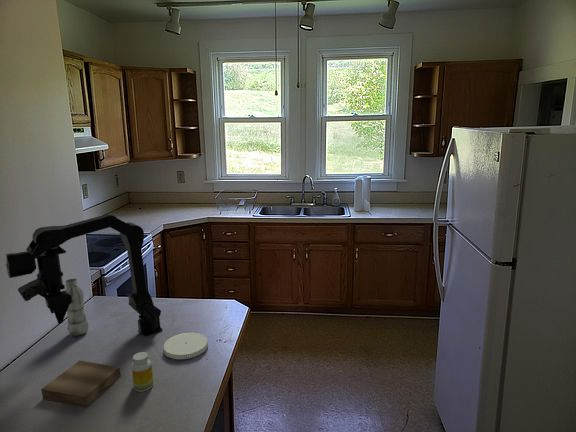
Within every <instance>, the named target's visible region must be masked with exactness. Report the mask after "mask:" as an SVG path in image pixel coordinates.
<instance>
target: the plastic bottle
mask: <svg viewBox="0 0 576 432" xmlns="http://www.w3.org/2000/svg"><path fill="white" fill-rule="evenodd" d="M64 282H65V289H64V291H67V292H69V294H70V295H71V296H72V302H71V304H70V305H69V307H68V309H67V312H66V315H67V331H68V334H69V335H71V336H73V337H74V336H76V337H77V336H82V335H84V334H86V333H87V332H88V330H89V322H88V320H87V316H86V313H85V308H84V307H85V304H84V299H85V297H84V296H85V295H84V294H85V293H84V291H83V289H82V288H80V287H79V286H78V285H79V282H78V279H77V278H69V279H67V280H65V281H64Z"/></svg>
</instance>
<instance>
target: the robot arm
mask: <svg viewBox="0 0 576 432" xmlns="http://www.w3.org/2000/svg"><path fill="white" fill-rule="evenodd" d="M108 228H111V229H113V230H114V231H116V232H118V233H119V234H120V238H121V240H122V242H123V245H124V246H125V249H126V251H127V257H128V264H129V265H128V266H129V270H130V271H129V272H130V278H131V285H132V291H131V293H128V294H127V298H128V305H129V306H130V307H131V309H133V310H134V311H135V312H136V313H138V314H139V315H138V320H137V327H138V332H140V334H142V335H143V337H147V336H151V335H154V334H157V333H159V332H162V331H163V328H162V327H161V322H160V321H161V320H160V316H161V315H162V310H161V309H160V308H158V307H157V306H156V305H154V301H153V299H152V296H151V293H150V292H149V290H148V287H147V281H146V273H145V266H144V259H143V252H142V250H143V249H142V248H143V245H144V242H145V241H144V240H145V231H144V229H143V228H142V227H141V226H140V225H137V224H135V223H134V222H129V221H128V222H125V221H123V220H121V219H119V218H118V217H117V216H115V215H114V214H111V213H108V212H107V213H104V214H102V215H100V216H95V217H92V218H87V219H84V220H81V221H77V222H72V223H69V224H66V225H65V224H63V225H51V226H41V227H38V228H37V229H34V232H33V233H32V240H31V242H30V243H29V244H28V246H27V247H26V249H25V250H26V251H19V252H11V253H6V254H5V257H6V258H5V259H6V260H5V261H6V264H5V265H6V266H5V267H6V272H7V275H8V278H9V279H13V278H18V277H23V276H28V275H33V273H35V272H36V271H35V270H37V268H38V273H37V274H36V278H35V279H34V280H31V281H29V282H27V283H24V285H21V286H20V287H18V288H17V291H18V293H19V295H20V296H21V298H22V299H23V300H24V302H28V301H30V300H31V299H33V298H34V297H36V296H38V295H39V296H41V297H42V298H44V301H45V304H46V307H47V309H49V311H50V314H54V316H55V319H56V321H57V324H58V325H59V324H60V325H61V324H63V322H64V319H65V317H66V315H67V309H68V307H69V305H70V304H71V302H72V296H71V295H70V294H69V292H67V291H65V290H66V285H65V284H64V282H63V276H64V273H63V271H62V268H61V259H60V255H62V254H66V253H67V250H65V249H64V248H63V247H62V246H61V245H63V244H65V243H66V242H67V241H70V240H72V239H73V238H78V237H81V236H85V235H87V234H88V235H89V234H92V233H94V232H99V231H102V230H105V229H108Z"/></svg>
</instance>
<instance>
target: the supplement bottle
mask: <svg viewBox="0 0 576 432" xmlns="http://www.w3.org/2000/svg"><path fill="white" fill-rule="evenodd" d="M152 365H153V364H152V361H151V360H150V359H149V353H147V352H146V351H145V352H144V351H141V352H140V351H139V352H137V353H135V354H133V356H132V363H131V366H130V369H131V380H132V387H133V390H134V391H136V392H142V393H143V392H146V391H148V390H149V389H151V388H152V387H153V386H154V375H153V366H152Z"/></svg>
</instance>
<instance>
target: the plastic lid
mask: <svg viewBox="0 0 576 432" xmlns="http://www.w3.org/2000/svg"><path fill="white" fill-rule="evenodd" d="M208 342H209V341H208V338H207V336H206V335H204V334H202V333H200V332H183V333H179V334H175V335H174V336H171V337H169V338H168V339H167V340H165V342H164V343H163V353H164V355H165V356H166V357H168V358H171V359H173V360H187V359H192V358H195V357H197V356H199V355H201V354H203V353H204V352H205V351H206V350H207V348H208V347H209V343H208Z"/></svg>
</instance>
